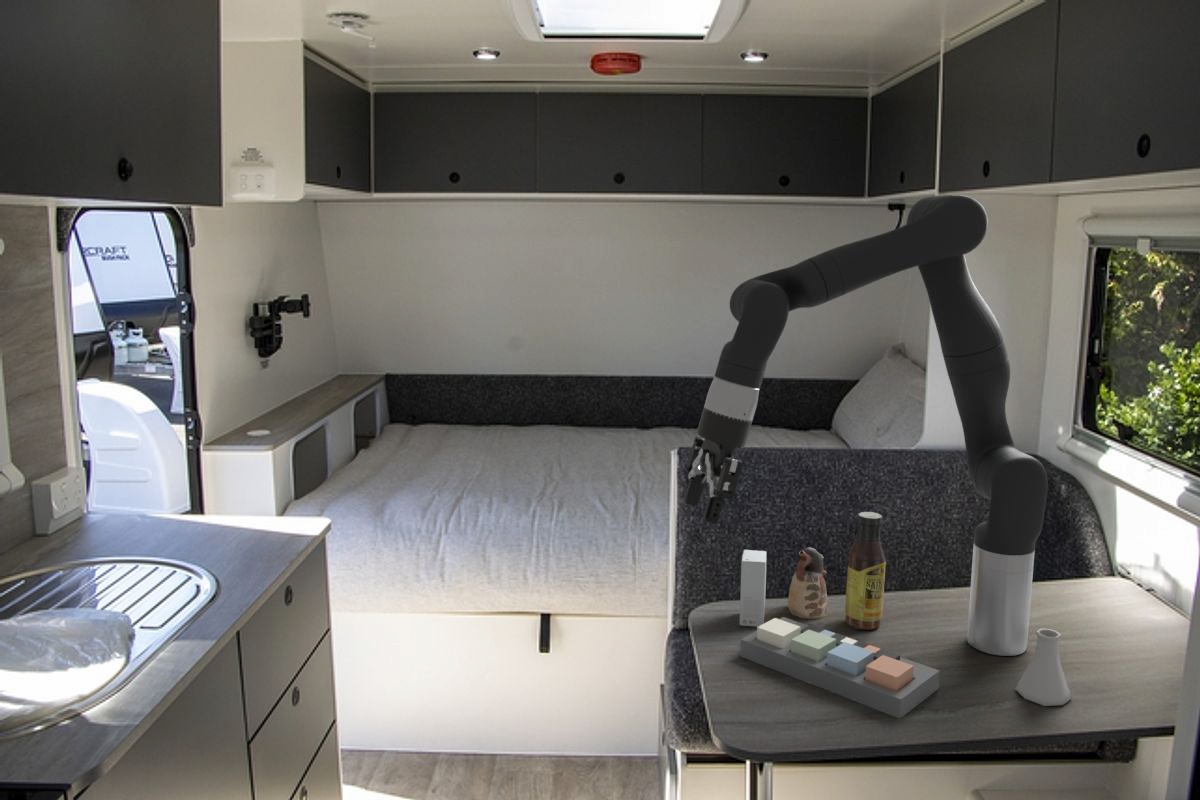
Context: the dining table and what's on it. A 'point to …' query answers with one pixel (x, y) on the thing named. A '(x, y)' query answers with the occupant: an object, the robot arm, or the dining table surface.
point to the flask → (1045, 673)
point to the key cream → (778, 633)
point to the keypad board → (841, 681)
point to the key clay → (889, 673)
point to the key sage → (812, 645)
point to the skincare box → (753, 588)
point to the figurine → (808, 587)
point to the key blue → (849, 658)
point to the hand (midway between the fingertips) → (699, 512)
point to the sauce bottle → (866, 575)
